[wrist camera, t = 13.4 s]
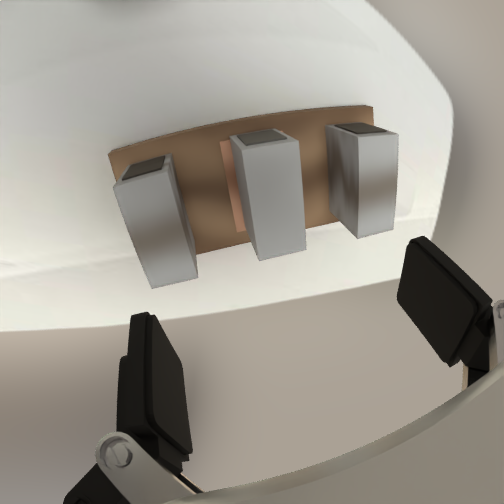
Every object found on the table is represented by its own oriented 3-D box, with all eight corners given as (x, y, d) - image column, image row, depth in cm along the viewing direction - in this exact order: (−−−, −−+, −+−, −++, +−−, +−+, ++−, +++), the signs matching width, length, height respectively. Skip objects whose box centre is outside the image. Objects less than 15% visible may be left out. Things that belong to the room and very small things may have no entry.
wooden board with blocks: (111, 150, 24) (87, 174, 17) (364, 105, 26) (411, 116, 20) (148, 258, 30) (141, 305, 24) (365, 208, 33) (403, 239, 26)
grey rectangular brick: (229, 134, 24) (241, 148, 19) (274, 126, 24) (298, 138, 19) (245, 227, 29) (259, 261, 24) (284, 218, 29) (306, 249, 24)
